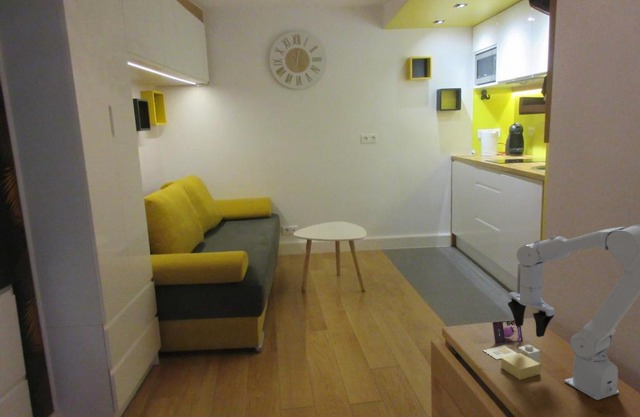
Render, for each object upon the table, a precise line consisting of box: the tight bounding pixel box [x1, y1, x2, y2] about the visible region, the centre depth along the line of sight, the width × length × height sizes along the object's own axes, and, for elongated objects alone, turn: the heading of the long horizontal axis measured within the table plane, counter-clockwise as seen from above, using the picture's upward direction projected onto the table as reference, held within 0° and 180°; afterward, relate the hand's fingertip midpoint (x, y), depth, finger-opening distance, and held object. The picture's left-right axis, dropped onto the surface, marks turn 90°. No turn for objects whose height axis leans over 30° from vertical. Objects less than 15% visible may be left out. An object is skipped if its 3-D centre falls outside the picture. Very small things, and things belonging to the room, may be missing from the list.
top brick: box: [517, 344, 541, 363], centre depth 130 cm, size 4×4×5 cm
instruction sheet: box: [482, 345, 518, 361], centre depth 136 cm, size 6×8×1 cm
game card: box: [491, 319, 524, 345], centre depth 145 cm, size 7×5×9 cm
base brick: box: [500, 352, 541, 381], centre depth 126 cm, size 7×7×3 cm
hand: (529, 330), depth 129 cm, fingers open, 7 cm apart
